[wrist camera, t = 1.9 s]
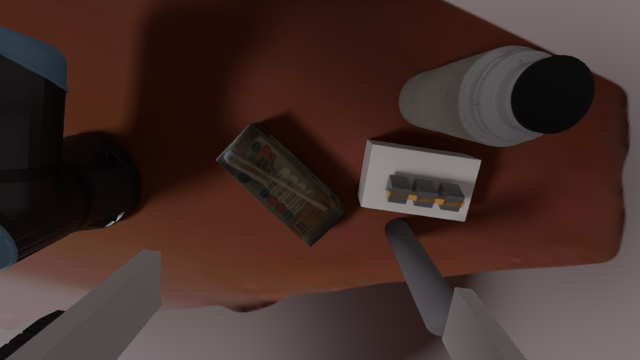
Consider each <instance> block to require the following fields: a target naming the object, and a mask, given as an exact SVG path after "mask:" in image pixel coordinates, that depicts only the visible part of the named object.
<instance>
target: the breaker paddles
mask: <svg viewBox="0 0 640 360" xmlns="http://www.w3.org/2000/svg"><path fill="white" fill-rule="evenodd" d="M385 190H386V195H387V201H388V202H392V203H399V204H406V202H407V200H412V201H413V204H414V206H419V207H426V208H432V207H433V205H434V204H438V205H439V208H440V210H447V211H454V212H458V211H459V209H460V207H461V208H463V206H464V204H465V202H464V199H465V197H464V195H463V193H462V191H461V189H460V187H459V185H458V184H452V183H445V182H441V183H440V185H439V187H438V190H436V188H435V185H434V183H433V181H431V180H424V179H417V178H415V180H414V183H413V186H412V189H411V188H410V185H409V182H408V178H407V177H404V176H397V175H389V178H388V182H387V185H386V188H385Z"/></svg>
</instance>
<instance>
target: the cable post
mask: <svg viewBox="0 0 640 360" xmlns="http://www.w3.org/2000/svg"><path fill="white" fill-rule="evenodd" d="M385 234H386V236H387V238H388V241H389V243H390V245H391V248H392V250H393V252H394V254H395V257H396V259H397V261H398V264H399V266H400V268H401V270H402V273H403V275H404V277H405V280H406V282H407V284H408V286H409V289H410V291H411V293H412V296H413V298H414V300H415V302H416V305H417V307H418V309H419V311H420V314H421V316H422V318H423V321H424V323H425V325H426V327H427V329H428V330H429V331H430V332H431V333H433V334H435V335H438V336H443V334H444V330H445V326H446V322H447V318H448V314H449V310H450V306H451V302H452V298H453V292H452V291H451V289H450V287H449V286H448V285H447V283H446V282H445V280H444V278H443V277H442V275H441V274H440V272H439V271H438V269H437V268H436V266H435V265H434V263H433V262H432V260H431V259H430V257H429V255H428V254H427V252H426V251H425V249H424V248H423V246H422V245H421V243H420V242H419V240H418V239H417V237H416V236H415V234H414V233H413V231H412V230H411V228H410V227H409V225H408V224H407V222H406V221H404V220H402V219H393V220H391V221H390V222H388V224H387V225H386V227H385Z"/></svg>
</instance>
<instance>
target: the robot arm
mask: <svg viewBox="0 0 640 360" xmlns="http://www.w3.org/2000/svg"><path fill="white" fill-rule="evenodd" d="M68 92H69V89H68V87H67V63H66V59H65V57H64V55H63V54H62V53H61V52H60V51H59V50H58V49H57V48H56V47H54V46H52V45H50V44H48V43H46V42H43V41H41V40H38V39H35V38H32V37H30V36H27V35H24V34H21V33H19V32H16V31H13V30H10V29H7V28H4V27H1V26H0V270H3V269H6V268H8V267H10V266H12V265H13V264H15V263H17V262H19V261H20V260H22V259H24V258H26V257H28V256H30V255H32V254H34V253H35V252H37V251H39V250H41V249H43V248H45V247H47V246H49V245H51V244H52V243H54V242H56V241H58V240H60V239H62V238H64V237H66V236H67V235H69V234H71V233H73V232H76V231H85V230H93V229H101V228H105V227H108V226H111V225H113V224H115V223H117V222H119V221H121V220H122V219H124V218H126V217H127V216H128V215H129V214H130V213H131V212H132V211H133V210H134V208H135V207H136V205H137V203H138V200H139V197H140V191H141V183H140V177H139V173H138V170H137V168H136V166H135V164H134V162H133V161H132V159H131V158H130V156H129V155H128V154H127V153H126V152H125V151H124V150H123V149H122V148H121V147H120V146H119V145H117V144H116V143H114V142H113V141H111V140H109V139H107V138H104V137H101V136H98V135H93V134H80V135H72V136H66V137H63V130H64V115H65V99H66V93H68ZM160 306H161V252H160V251H152V250H142V251H141V252H140V253H138V254H137V255H136V256H135V257H133V258H132V259H131V260H130V261H128V262H127V263H126V264H125V265H123V266H122V267H121V268H120V269H118V270H117V271H116V272H115V273H113V274H112V275H111V276H110V277H108V278H107V279H106V280H105V281H103V282H102V283H101V284H100V285H98V286H97V287H96V288H95V289H93V290H92V291H91V292H89V293H88V294H87V295H86V296H84V297H83V298H82V299H81V300H79V301H78V302H77V303H76V304H74V305H73V306H72V307H71V308H69V309H68V310H67V311H61V310H57V311H55V312H53V313H51V314H49V315H46V316H44V317H42V318H40V319H38V320H37V321H36V322H34V323H33V324H32V325H30V326H29V327H28V328H26V329H25V330H24V331H23V332H22V334H19V335H17V336H16V337H14V338H13V339H12V340H10V341H9V343H8V344H5V345H3V346H2V347H1V348H0V360H117V359H118V357H119V356H120V355H121V354H122V352H123V351H124V350H125V349H126V348H127V346H128V345H129V344H130V343H131V342H132V340H133V339H134V338H135V336H136V335H137V334H138V333H139V332H140V330H141V329H142V328H143V327H144V326H145V324H146V323H147V322H148V321H149V319H150V318H151V317H152V316H153V315H154V314H155V312H156V311H157V310H158V309H159V307H160ZM442 341H443V342H444V345H445V347H446V349H447V351H448V353H449V355H450V357H451V359H452V360H527V359H526V358H525V357H524V356H523V354H522V353H521V352H520V350H519V349H518V348H517V347H516V345H515V344H514V343H513V341H512V340H511V339H510V337H509V336H508V335H507V334H506V332H505V331H504V330H503V328H502V327H501V326H500V325H499V323H498V322H497V321H496V319H495V318H494V317H493V315H492V314H491V313H490V312H489V310H488V309H487V308H486V306H485V305H484V304H483V303H482V301H481V300H480V299H479V297H478V296H477V295H476V293H475V292H474V291H473V290H472V289H465V288H457V287H456V288H455V290H454V294H453V298H452V302H451V306H450V310H449V314H448V318H447V322H446V326H445V330H444V334H443V338H442Z"/></svg>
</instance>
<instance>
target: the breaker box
mask: <svg viewBox="0 0 640 360" xmlns="http://www.w3.org/2000/svg"><path fill="white" fill-rule="evenodd" d="M480 164H481V160H479V159H476V158H474V157H471V156H468V155H466V154H463V153H456V152H449V151H443V150H436V149H429V148H422V147H416V146H409V145H402V144H395V143H388V142H382V141H375V140H368V139H367V144H366V150H365V156H364V161H363V167H362V172H361V178H360V183H359V189H358V194H357V195H358V198H359V201H360V204H361V207H367V208H374V209H381V210H388V211H394V212H401V213H408V214H415V215H422V216H429V217H436V218H443V219H450V220H456V221H463V222H465V219H466V215H467V212H468V208H469V204H470V201H471V197H472V193H473V190H474V186H475V182H476V179H477V175H478V171H479V167H480ZM389 175H397V176H404V177H407V178H408V182H409V185H410V188H411V189H412V186H413V183H414V180H415V178H417V179H424V180H431V181H433V183H434V185H435V188H436V190H438V187H439V185H440V183H441V182H445V183H452V184H458V185H459V187H460V189H461V191H462V193H463V195H464V197H465V199H464V202H465V204H464V206H463V208H461V207H460V209H459V211H458V212H454V211H447V210H440V208H439V205H438V204H434V205H433V207H432V208H426V207H419V206H414V204H413V201H412V200H407V202H406V204H399V203H392V202H388V201H387V195H386V190H385V188H386V185H387V182H388V178H389Z"/></svg>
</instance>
